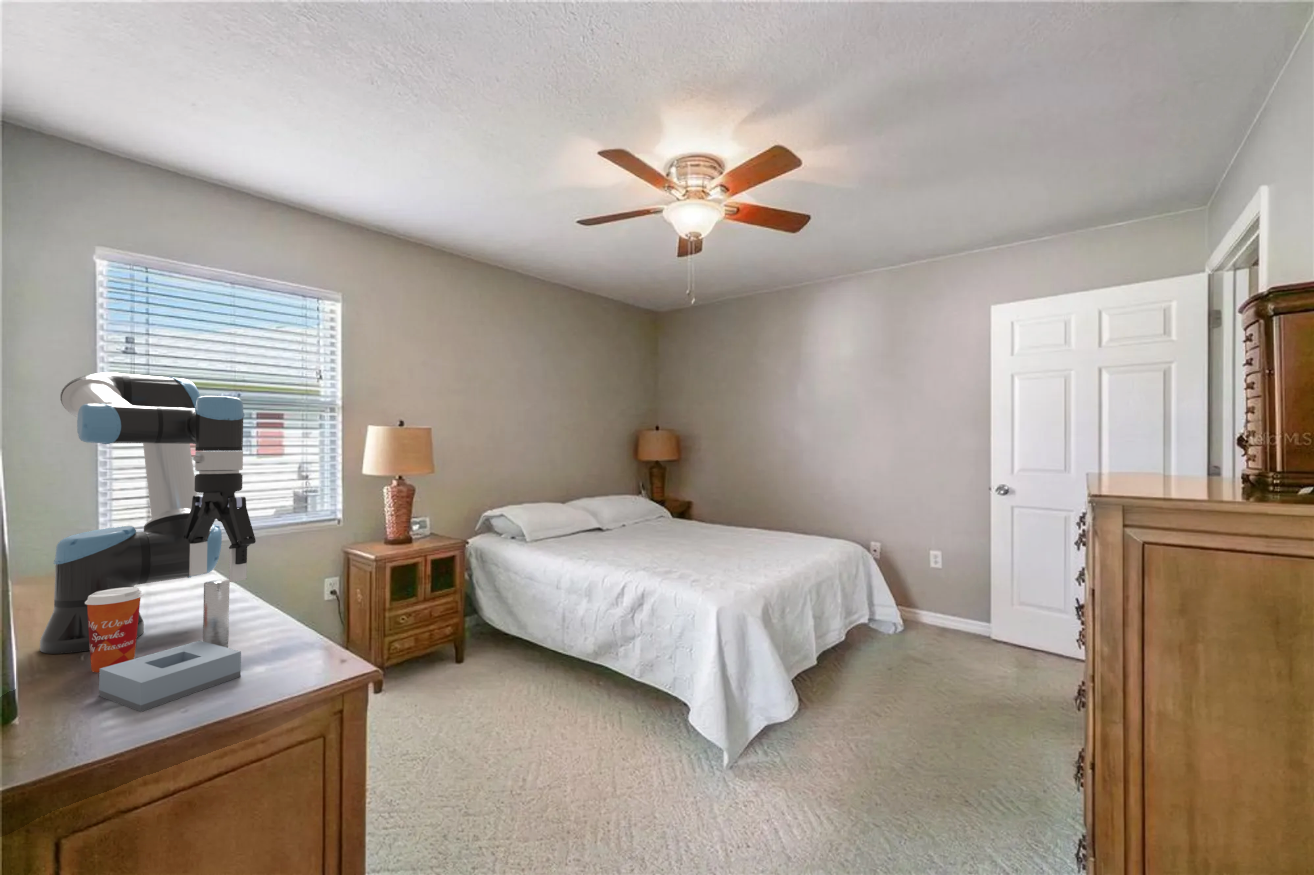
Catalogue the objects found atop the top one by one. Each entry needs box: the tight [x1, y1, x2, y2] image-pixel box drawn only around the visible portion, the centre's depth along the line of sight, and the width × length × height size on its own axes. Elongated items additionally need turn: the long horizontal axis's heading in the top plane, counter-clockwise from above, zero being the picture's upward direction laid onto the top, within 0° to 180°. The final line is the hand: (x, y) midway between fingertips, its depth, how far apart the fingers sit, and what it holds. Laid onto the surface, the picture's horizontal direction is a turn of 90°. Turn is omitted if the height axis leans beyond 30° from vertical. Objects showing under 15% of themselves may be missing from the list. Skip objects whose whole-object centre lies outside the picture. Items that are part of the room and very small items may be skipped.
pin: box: [202, 579, 231, 648], centre depth 107 cm, size 4×4×14 cm
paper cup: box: [85, 586, 145, 673], centre depth 100 cm, size 8×8×14 cm
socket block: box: [98, 640, 242, 713], centre depth 92 cm, size 13×14×4 cm
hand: (217, 577), depth 107 cm, fingers open, 13 cm apart
